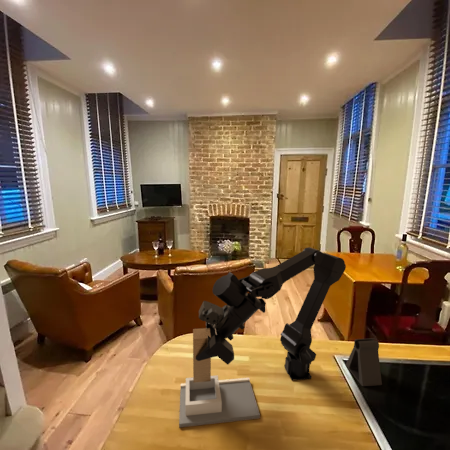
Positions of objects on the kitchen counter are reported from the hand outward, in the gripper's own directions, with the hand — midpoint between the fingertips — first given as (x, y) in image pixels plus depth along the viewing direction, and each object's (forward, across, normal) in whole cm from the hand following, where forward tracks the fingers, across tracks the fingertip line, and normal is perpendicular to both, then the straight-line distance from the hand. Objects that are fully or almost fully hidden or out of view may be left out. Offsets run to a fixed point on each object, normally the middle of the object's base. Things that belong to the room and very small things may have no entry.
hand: (196, 353), depth 69 cm
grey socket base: (+6, +2, +13) cm, 15 cm away
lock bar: (+4, 0, +6) cm, 7 cm away
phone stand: (-26, -4, +46) cm, 53 cm away
